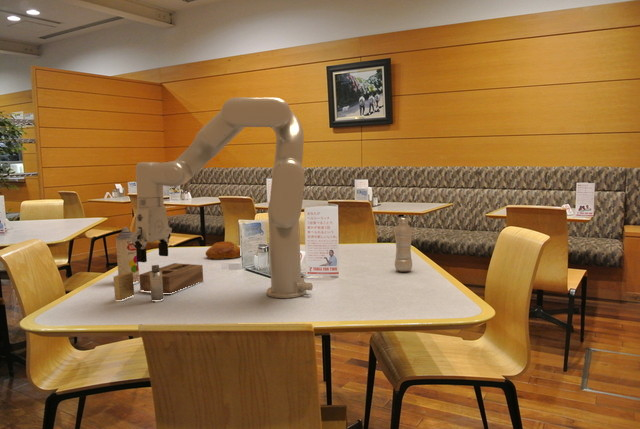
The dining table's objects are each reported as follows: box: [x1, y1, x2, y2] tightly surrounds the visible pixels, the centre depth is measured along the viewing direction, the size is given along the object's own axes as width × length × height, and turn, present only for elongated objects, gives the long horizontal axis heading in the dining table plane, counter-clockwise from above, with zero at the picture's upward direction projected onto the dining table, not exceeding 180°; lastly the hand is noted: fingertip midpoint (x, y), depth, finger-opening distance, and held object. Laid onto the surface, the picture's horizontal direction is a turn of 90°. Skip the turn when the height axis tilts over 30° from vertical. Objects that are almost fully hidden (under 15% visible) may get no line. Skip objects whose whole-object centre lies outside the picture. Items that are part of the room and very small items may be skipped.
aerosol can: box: [115, 226, 140, 282], centre depth 175 cm, size 7×7×20 cm
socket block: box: [139, 262, 204, 293], centre depth 169 cm, size 12×18×6 cm, turn 158°
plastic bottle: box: [394, 216, 413, 273], centre depth 182 cm, size 6×7×20 cm
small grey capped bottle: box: [150, 264, 165, 300], centre depth 153 cm, size 4×4×11 cm
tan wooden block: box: [113, 272, 135, 300], centre depth 155 cm, size 2×6×8 cm, turn 158°
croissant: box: [205, 241, 241, 260], centre depth 219 cm, size 14×16×8 cm
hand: (153, 258), depth 152 cm, fingers open, 9 cm apart
